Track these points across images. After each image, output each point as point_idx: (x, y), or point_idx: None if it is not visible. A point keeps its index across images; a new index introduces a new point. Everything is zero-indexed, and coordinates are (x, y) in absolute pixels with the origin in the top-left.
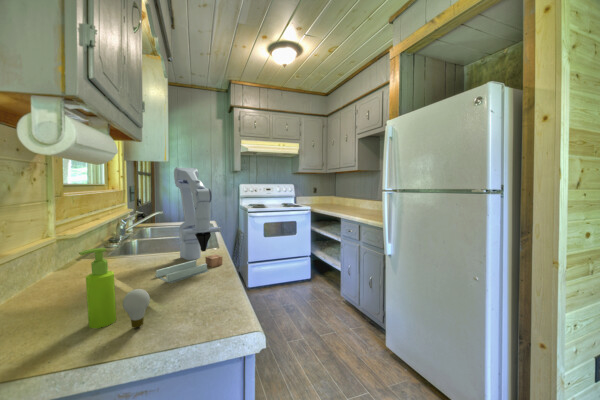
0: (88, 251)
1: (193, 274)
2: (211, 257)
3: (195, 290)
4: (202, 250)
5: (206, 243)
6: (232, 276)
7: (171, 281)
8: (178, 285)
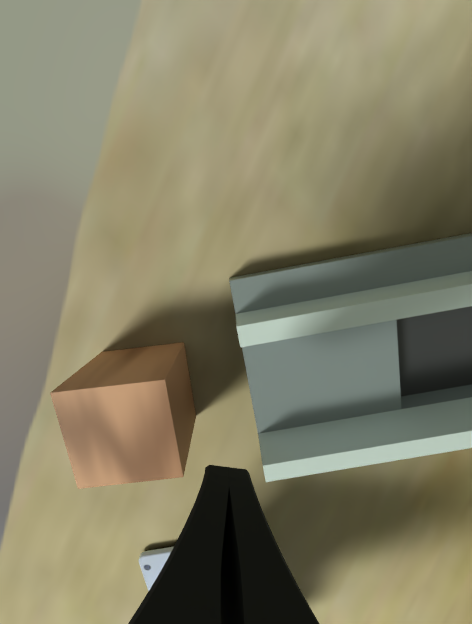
0: None
1: (350, 287)
2: (148, 425)
3: (435, 51)
4: (248, 477)
5: (184, 561)
6: (117, 123)
7: None
8: (461, 227)
